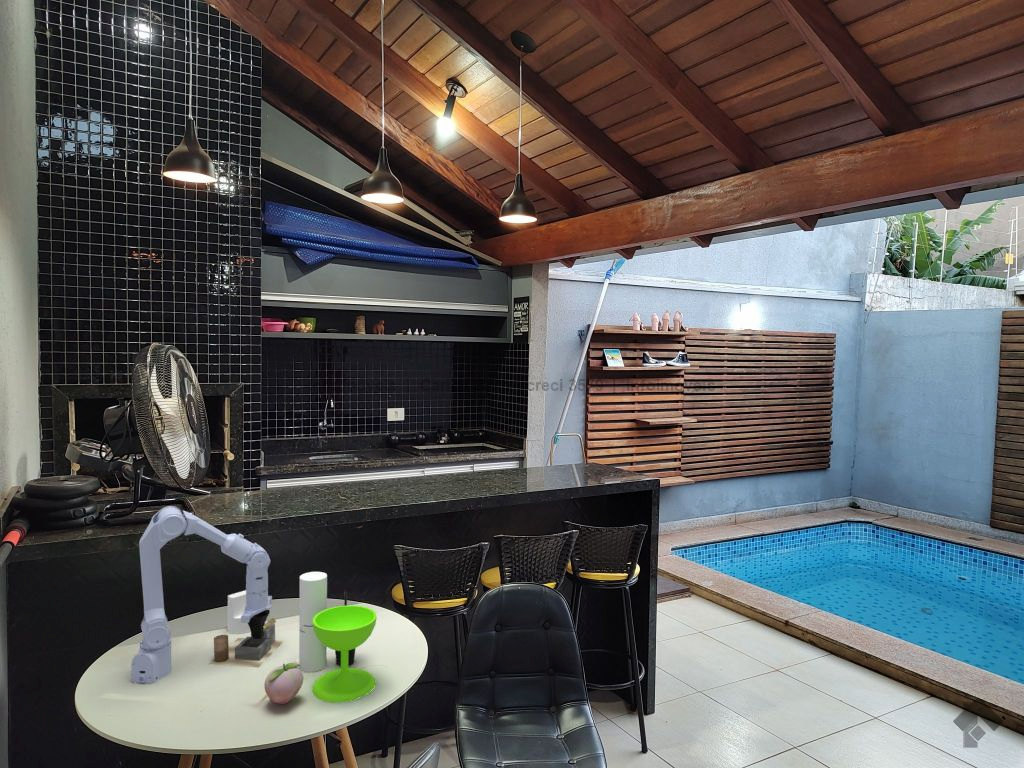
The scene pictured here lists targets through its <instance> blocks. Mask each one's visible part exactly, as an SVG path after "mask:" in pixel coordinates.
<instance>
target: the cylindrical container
mask: <svg viewBox="0 0 1024 768" xmlns="http://www.w3.org/2000/svg"><path fill="white" fill-rule="evenodd" d="M326 609H328V574H327V573H326V572H322V571H310V572H309V571H308V572H305V573H303V574H301V575H299V608H298V611H299V617H298V618H299V619H298V620H299V629H298V630H299V632H298V633H299V635H298V636H299V637H298V639H299V640H298V641H299V644H298V645H299V646H298V647H299V648H298V649H299V653H298V655H299V656H298V661H299V663H298V664H300V666H298V669H300V670H301V672H304V673H315V672H319V671H322V670H324V669H325V668H326V667H327V655H328V654H327V650H328V649H327V648H328V647H326V646H325V645H323V644H322V643H321V641H320V640H319V639H318V638H317V636H316V634H315V632H314V628H313V618H314V616H315V615H316V614H318V613H319V612H321V611H323V610H326Z"/></svg>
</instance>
